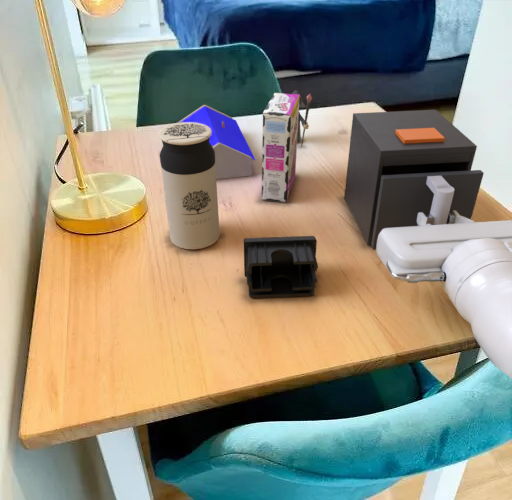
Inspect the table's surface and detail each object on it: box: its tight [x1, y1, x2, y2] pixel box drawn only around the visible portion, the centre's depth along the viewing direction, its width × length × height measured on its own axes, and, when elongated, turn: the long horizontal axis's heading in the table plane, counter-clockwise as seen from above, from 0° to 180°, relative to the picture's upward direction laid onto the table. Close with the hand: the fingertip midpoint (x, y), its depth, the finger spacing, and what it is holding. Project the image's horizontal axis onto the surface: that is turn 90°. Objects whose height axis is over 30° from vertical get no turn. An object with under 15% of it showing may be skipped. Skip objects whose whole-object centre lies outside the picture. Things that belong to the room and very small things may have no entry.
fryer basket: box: [370, 164, 484, 251], centre depth 78 cm, size 20×14×12 cm
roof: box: [177, 104, 256, 180], centre depth 105 cm, size 22×14×7 cm, turn 12°
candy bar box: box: [261, 92, 301, 203], centre depth 91 cm, size 11×5×16 cm, turn 168°
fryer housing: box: [343, 109, 478, 246], centre depth 82 cm, size 15×14×17 cm
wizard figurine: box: [291, 89, 313, 147], centre depth 110 cm, size 8×6×12 cm
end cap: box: [243, 235, 319, 299], centre depth 70 cm, size 10×7×7 cm
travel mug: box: [158, 122, 221, 250], centre depth 77 cm, size 8×8×18 cm
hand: (435, 215), depth 71 cm, fingers closed on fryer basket, 2 cm apart
